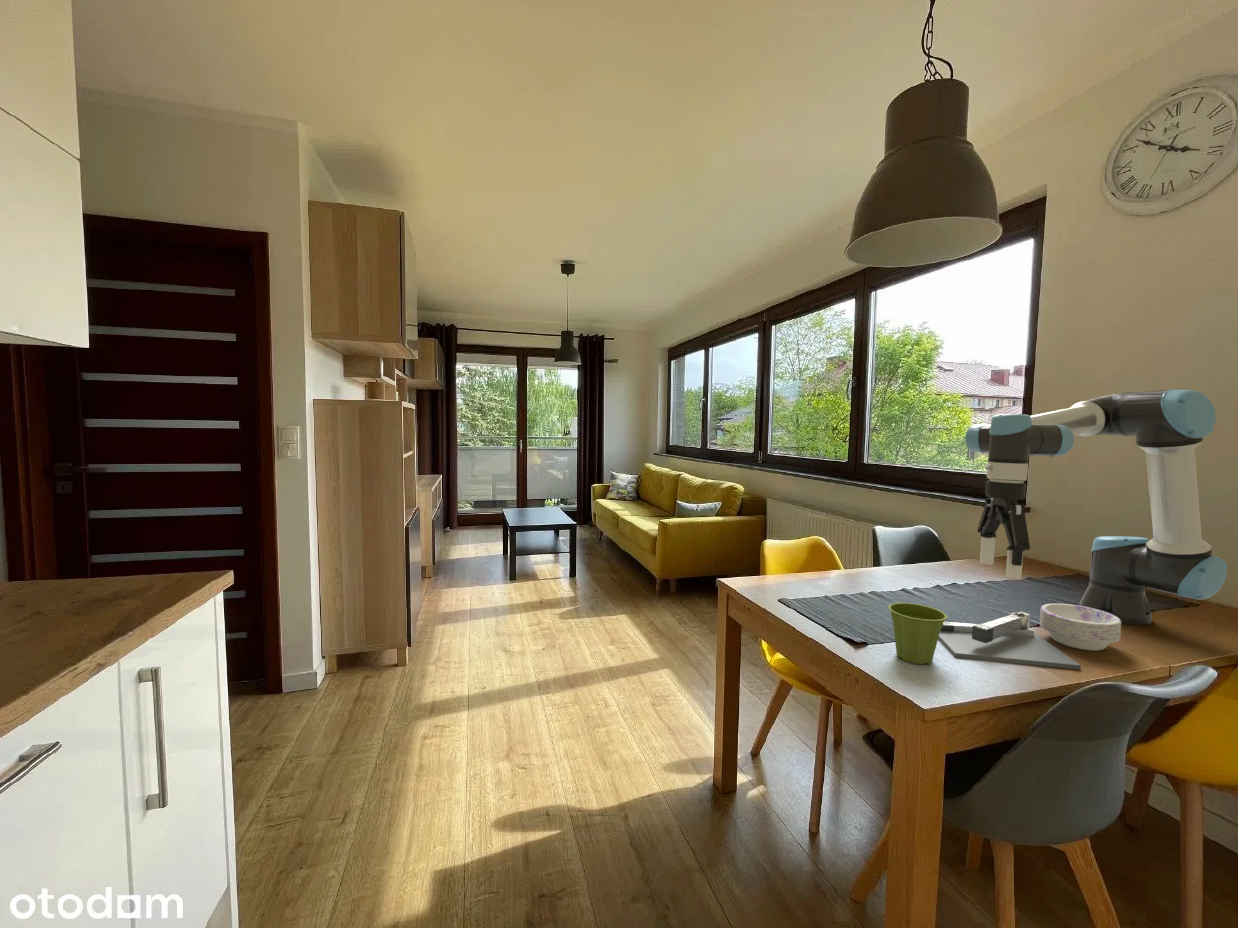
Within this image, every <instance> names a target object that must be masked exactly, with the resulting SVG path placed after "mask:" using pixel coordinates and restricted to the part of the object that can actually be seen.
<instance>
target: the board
mask: <svg viewBox="0 0 1238 928" xmlns="http://www.w3.org/2000/svg"><path fill="white" fill-rule="evenodd" d="M938 641H940V643H941V644H942V645H943V646H944V647H945V648H946V649H947V650H948V651H949V652H950V653H951V655H953V657H955V658H960V659H969V660H970V659H971V660H981V661H992V662H999V663H1000V662H1001V663H1010V664H1020V665H1029V666H1030V665H1031V666H1039V667H1050V668H1062V669H1070V670H1081V668H1082V665H1081V664H1080V663H1078V662H1077V661H1075V660H1074V659H1073V658H1071V657H1070V656H1068V655H1067V654H1065V653H1064V652H1062V651H1061V650H1060V649H1058V648H1057V647H1055V646H1054V645H1052V644H1051V643H1049V642H1048V641H1047V640H1045V639H1044V638H1043V637H1041V636H1040V635H1038V634H1037V633H1036V632H1034V637H1033V636H1018V635H1004V636H1001V637H999V638H996V639H993V641H991V642H988V643H983V642H980V641H977V640H974V639H972V632H960V631H954V632H952V631H940V634H939V637H938Z"/></svg>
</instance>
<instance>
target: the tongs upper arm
mask: <svg viewBox="0 0 1238 928" xmlns="http://www.w3.org/2000/svg"><path fill="white" fill-rule="evenodd" d="M976 624H977V625H974V626H973V628H972V639H974V640H977V641H980V642H983V643H988V642H991V641H993V639H996V638H999V637H1001V636H1004V635H1007V634H1010V633H1013V632H1016V631H1018V630H1027V629H1028V627H1029V628H1031V626H1030V625H1031V614H1030V613H1026V612H1023V611H1015V612H1014V611H1013V612H1011V613H1010V614H1009V615H1006V616H1003V617H1000V618H996V619H994V620H990V621H987V622H983V623H976Z"/></svg>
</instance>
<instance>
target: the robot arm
mask: <svg viewBox="0 0 1238 928" xmlns="http://www.w3.org/2000/svg"><path fill="white" fill-rule="evenodd" d="M1216 416H1217V415H1216V410H1215V407H1214V404H1213V402H1212V401H1211V400H1210V398H1209V397H1208V396H1207V395H1205V394H1204V393H1203V392H1201V391H1198V390H1194V389H1177V388H1173V389H1163V390H1162V389H1161V390H1147V391H1146V390H1145V391H1144V390H1143V391H1127V392H1118V393H1112V394H1109V395H1104V396H1100V397H1096V398H1091V399H1087V400H1082V401H1079V402H1076V403H1074V404H1073V405H1071V406H1070V407H1069V408H1062V409H1057V410H1053V411H1049V412H1044V413H1039V414H1034V415H1029V414H1023V413H1021V414H1018V413H1015V414H1014V413H1010V414H1009V413H1008V414H1006V413H1005V414H1004V413H1003V414H1002V413H999V414H995V415H993V416H992V417H991V420H990V423H979V424H978V423H977V424H973V425H971V426H970V427H969V428H968V429H967V430H966V432H965V436H964V437H965V439H964V440H965V445H966V447H967V448H968V449H969V450H970V451H972V452H974V453H975V452H976V453H981V454H988V458H987V465H986V466H984V467H985V471H986V470H987V471H986V478H987V479H989V480H987V481H986V482H985V491H984V494H985V496H986V498H985V500H984V501H985V502H984V508H983V512H982V514H981V517H980V520H979V523H978V526H977V533H979V534H980V536H981V537H980V538H981V539H980V555H979V564H980V565H990V566H991V565H994V563H995V561H994V560H995V550H996V549H995V547H996V537H997V534H996V533H997V531H998V528H999V527H1000V525H1003V527H1004V531H1005V534H1006V538H1007V541H1008V546H1007V547H1006V550H1007V553H1006V565H1005V567H1006V568H1005V579H1006V580H1016V581H1018V580H1019V581H1022V574H1023V573H1022V571H1023V561H1024V560H1023V559H1024V552H1025V551H1029V550H1031V544H1030V543H1031V542H1030V537H1029V532H1028V526H1027V518H1026V506H1025V505H1019V504H1018V502H1017V501H1018V500H1024V499H1025V498H1026V493H1027V484H1026V483H1025V482H1024V481H1027V480H1028V473H1029V472H1028V470H1029V457H1030V456H1031V457H1032V456H1033V457H1034V456H1037V457H1049V458H1050V457H1051V458H1052V457H1058V456H1059V457H1060V456H1063V455H1066V454H1068V453H1069V452H1070V451H1071V449H1072V448H1073V446H1074V445H1075V444H1074V443H1075V437H1076V436H1080V437H1092V436H1100V435H1101V436H1120V437H1122V436H1123V437H1135V441H1136V442H1135V443H1136V447H1138V448H1139V449H1141V450H1143V451H1144V452H1145V460H1146V470H1147V471H1146V472H1147V480H1148V481H1147V483H1148V492H1149V493H1148V495H1149V503H1150V514H1151V515H1150V516H1151V524H1152V536H1153V537H1152V538H1151V539H1149V538H1147V537H1139V536H1127V535H1126V536H1125V535H1123V536H1122V535H1113V536H1112V535H1102V536H1097V537H1095V538H1094V539H1093V541H1092V546H1091V547H1092V548H1091V550H1090V552H1091V553H1090V554H1091V555H1090V556H1091V557H1090V568H1089V569H1090V571H1089V583H1088V586H1087V588H1086V590H1085V592H1084V594H1083V595H1082V597H1081V599H1080V601H1079V606H1084V607H1089V608H1093V609H1097V610H1101V611H1104V612H1107V613H1110V614H1112V615H1114V616H1116V617H1118V618H1119V619H1120V620H1121V624H1125V625H1126V624H1127V625H1138V626H1143V625H1150V624H1152V617H1153V616H1152V615H1153V614H1152V611H1151V608H1150V606H1149V603H1148V599H1147V597H1146V589H1151V590H1155V591H1159V592H1163V593H1166V594H1167V593H1168V594H1172V595H1176V596H1178V597H1182V598H1187V599H1192V600H1193V599H1194V600H1197V601H1198V600H1207V599H1210V598H1211V597H1213V596H1215V595H1216V594H1217V593H1219V591H1220V590H1221V588H1222V587H1223V585H1224V583H1225V581H1226V578H1227V575H1228V574H1227V573H1228V566H1227V562H1226V561H1225V560H1224V559H1223V558H1221V557H1219V556H1217V555H1213V552H1212V551H1213V550H1212V545H1211V544H1210V543H1208V542H1207V541H1206V540H1204V539H1202V538H1203V537H1202V524H1201V516H1200V515H1201V514H1200V502H1199V501H1200V500H1199V499H1200V498H1199V491H1198V490H1199V488H1198V477H1197V476H1198V474H1197V465H1196V464H1197V463H1196V452H1195V449H1196V448H1197V447H1198V446H1199V445H1200V446H1201V444H1203V442H1204V439H1203V437H1207V436H1208V435H1210V434H1211V432H1212V431H1213V430H1214V427H1215V426H1214V424H1216V420H1217V417H1216Z"/></svg>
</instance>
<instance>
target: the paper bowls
mask: <svg viewBox="0 0 1238 928" xmlns="http://www.w3.org/2000/svg"><path fill="white" fill-rule="evenodd" d="M1039 609H1040V611H1039V615H1040V616H1039V626H1040V627H1041V628H1042V629H1044V630H1045V631H1047V632H1048V634H1049V636H1050V637H1051V639H1052V640H1054V641H1056V642H1057V643H1059V644H1062V645H1064V646H1067V647H1070V648H1074V649H1079V650H1084V651H1102V650H1104V649H1106V648H1107V647H1108V646H1109V644H1115V643H1118V642H1120V640H1121V633H1122V623H1121V620H1120V619H1119V618H1118V617H1116V616H1114V615H1112V614H1110V613H1107V612H1104V611H1101V610H1097V609H1093V608H1089V607H1084V606H1080V605H1077V604H1076V605H1075V604H1070V603H1046V604H1043V605H1041V607H1040V608H1039Z"/></svg>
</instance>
